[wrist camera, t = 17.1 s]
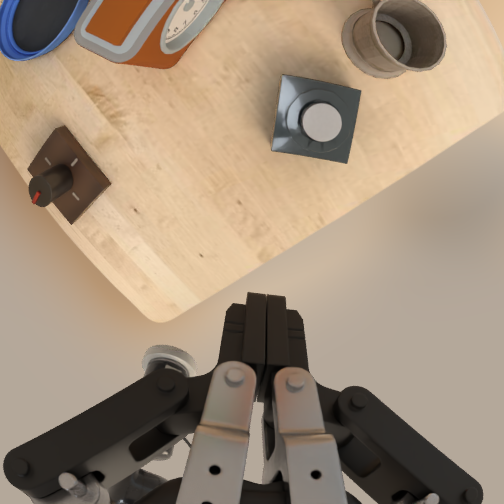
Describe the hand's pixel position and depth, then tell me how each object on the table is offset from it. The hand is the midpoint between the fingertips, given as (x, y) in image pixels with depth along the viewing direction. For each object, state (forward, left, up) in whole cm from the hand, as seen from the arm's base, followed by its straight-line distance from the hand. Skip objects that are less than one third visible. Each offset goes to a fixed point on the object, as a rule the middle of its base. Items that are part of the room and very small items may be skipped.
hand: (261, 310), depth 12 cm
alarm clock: (+18, +13, -29) cm, 37 cm away
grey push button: (+6, -5, -23) cm, 25 cm away
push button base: (+6, -5, -29) cm, 30 cm away
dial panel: (-4, +28, -29) cm, 41 cm away
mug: (+20, -11, -29) cm, 37 cm away
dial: (-5, +29, -26) cm, 39 cm away
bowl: (+23, +35, -29) cm, 51 cm away
